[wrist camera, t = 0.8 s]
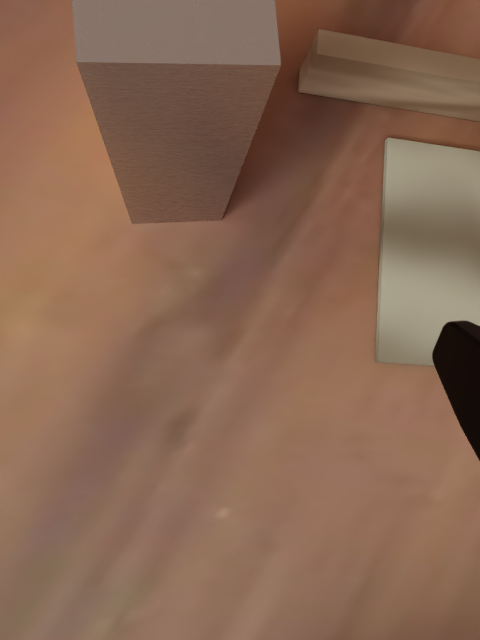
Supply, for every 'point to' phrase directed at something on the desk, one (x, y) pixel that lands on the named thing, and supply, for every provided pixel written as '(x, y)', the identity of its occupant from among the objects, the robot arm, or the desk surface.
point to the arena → (414, 186)
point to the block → (177, 96)
